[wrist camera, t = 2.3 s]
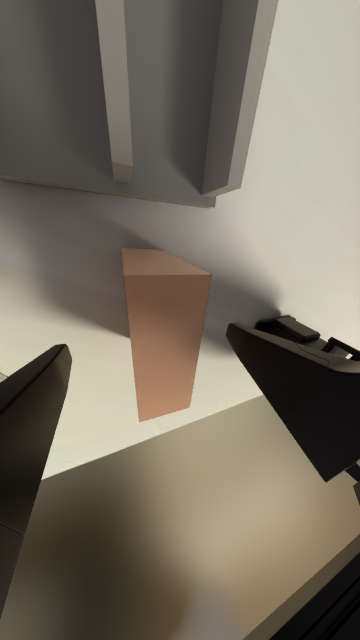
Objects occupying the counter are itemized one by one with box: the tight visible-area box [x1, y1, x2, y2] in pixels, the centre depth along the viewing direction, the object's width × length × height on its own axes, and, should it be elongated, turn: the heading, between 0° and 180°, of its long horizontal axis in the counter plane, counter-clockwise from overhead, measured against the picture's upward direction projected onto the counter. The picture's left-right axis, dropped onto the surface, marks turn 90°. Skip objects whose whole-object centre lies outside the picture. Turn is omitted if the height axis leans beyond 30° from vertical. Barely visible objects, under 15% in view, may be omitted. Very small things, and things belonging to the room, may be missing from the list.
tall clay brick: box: [121, 248, 212, 422], centre depth 10 cm, size 8×3×8 cm, turn 176°
